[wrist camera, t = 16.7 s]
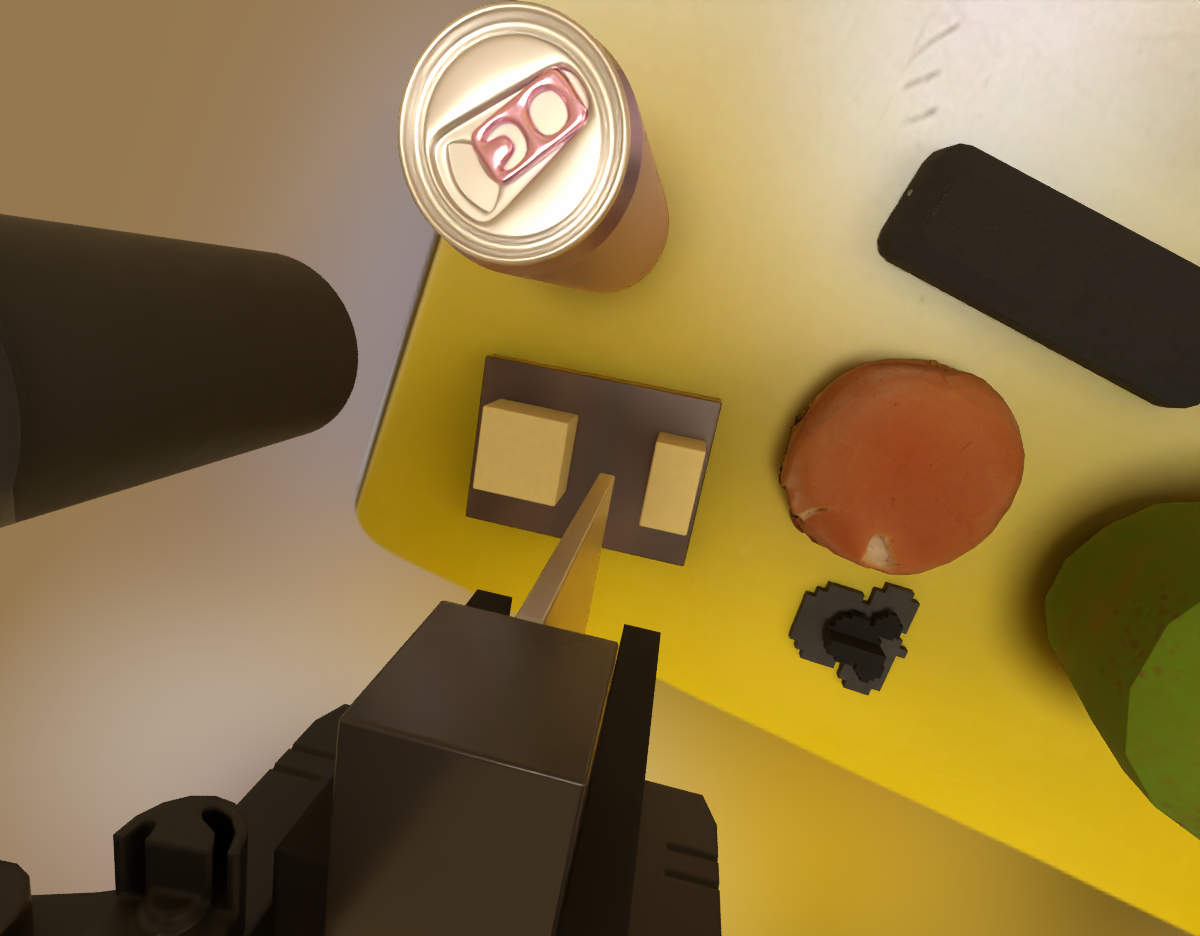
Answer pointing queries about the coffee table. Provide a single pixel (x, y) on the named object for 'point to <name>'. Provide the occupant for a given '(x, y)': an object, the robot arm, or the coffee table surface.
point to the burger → (902, 465)
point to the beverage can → (532, 150)
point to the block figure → (854, 631)
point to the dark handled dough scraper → (474, 761)
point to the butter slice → (672, 483)
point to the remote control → (1052, 272)
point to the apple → (1139, 648)
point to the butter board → (597, 450)
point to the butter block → (525, 451)
